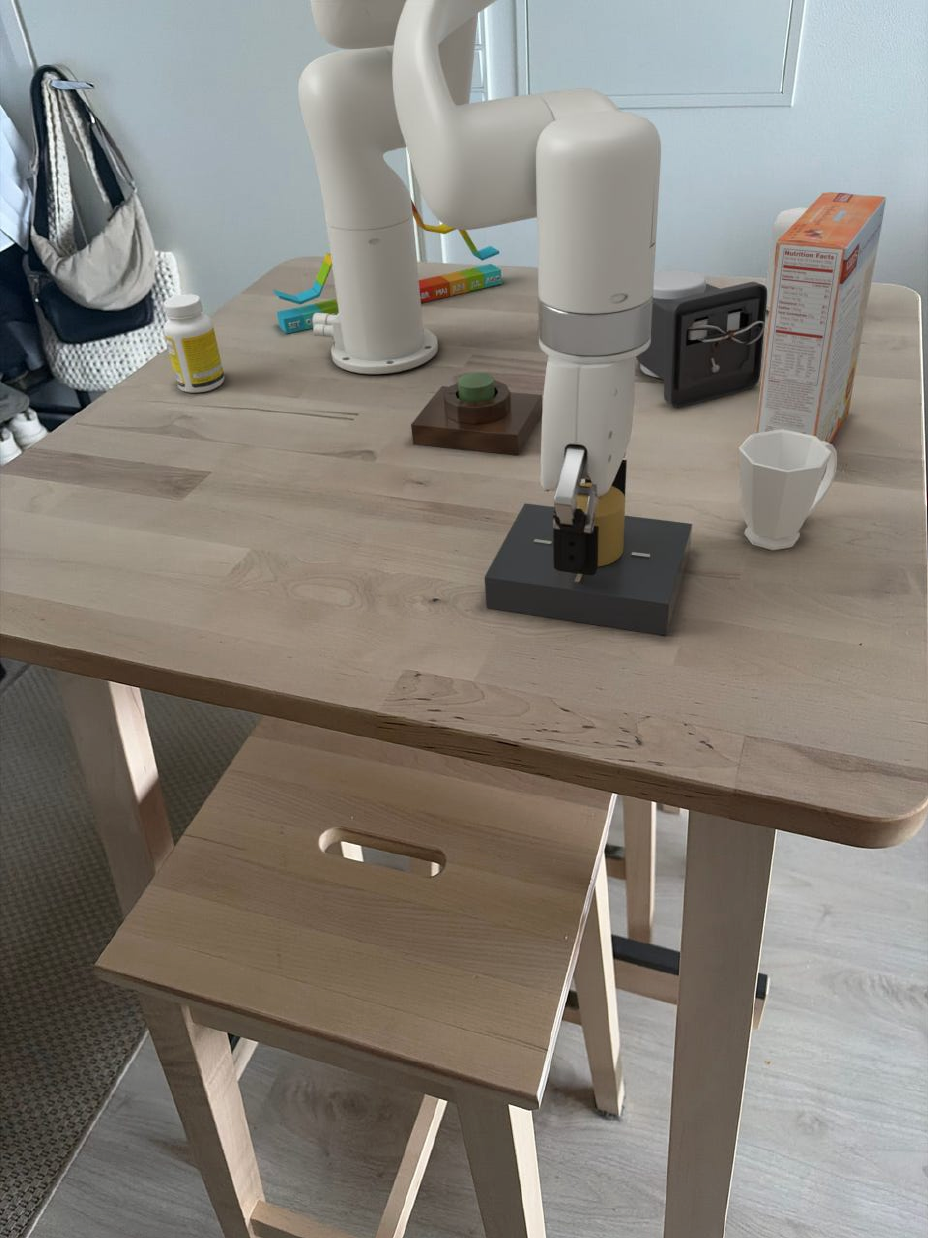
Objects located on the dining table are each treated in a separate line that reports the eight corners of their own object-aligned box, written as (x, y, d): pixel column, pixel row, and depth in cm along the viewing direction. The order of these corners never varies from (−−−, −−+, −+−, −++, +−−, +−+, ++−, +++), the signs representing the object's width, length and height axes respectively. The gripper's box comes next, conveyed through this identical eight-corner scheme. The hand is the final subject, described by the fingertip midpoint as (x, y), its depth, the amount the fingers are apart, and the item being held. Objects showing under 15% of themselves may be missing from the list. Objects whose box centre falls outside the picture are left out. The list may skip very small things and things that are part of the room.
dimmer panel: (486, 608, 77) (483, 575, 76) (525, 532, 86) (524, 501, 84) (666, 636, 73) (668, 602, 71) (689, 554, 81) (692, 521, 80)
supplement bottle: (233, 376, 116) (215, 292, 110) (210, 396, 112) (190, 310, 106) (193, 372, 117) (173, 289, 111) (168, 391, 113) (146, 307, 107)
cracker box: (788, 405, 101) (821, 188, 88) (849, 415, 98) (892, 194, 86) (744, 467, 92) (774, 235, 79) (811, 481, 89) (852, 243, 76)
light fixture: (693, 352, 114) (698, 255, 108) (764, 389, 104) (773, 284, 98) (609, 372, 111) (609, 273, 105) (674, 412, 101) (678, 306, 95)
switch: (453, 402, 98) (452, 385, 97) (465, 386, 101) (464, 370, 100) (488, 405, 97) (487, 388, 96) (499, 389, 100) (498, 373, 99)
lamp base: (412, 444, 100) (408, 407, 97) (443, 404, 106) (440, 369, 104) (518, 455, 96) (516, 417, 94) (542, 414, 103) (542, 377, 101)
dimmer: (614, 571, 75) (616, 517, 72) (551, 561, 77) (550, 508, 74) (629, 536, 79) (632, 483, 76) (568, 527, 80) (568, 475, 77)
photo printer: (848, 326, 116) (867, 215, 108) (821, 335, 114) (840, 224, 107) (782, 301, 123) (796, 196, 115) (756, 310, 121) (769, 204, 114)
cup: (710, 532, 84) (719, 446, 79) (793, 493, 88) (806, 409, 83) (774, 569, 79) (788, 481, 74) (858, 526, 83) (876, 439, 78)
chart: (286, 334, 125) (264, 210, 116) (279, 326, 127) (257, 203, 118) (502, 284, 134) (497, 165, 125) (491, 277, 136) (486, 160, 127)
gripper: (571, 273, 74) (570, 475, 84) (503, 370, 61) (512, 593, 72) (673, 278, 72) (659, 485, 82) (623, 380, 59) (614, 608, 69)
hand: (590, 535), depth 77 cm, fingers open, 9 cm apart
